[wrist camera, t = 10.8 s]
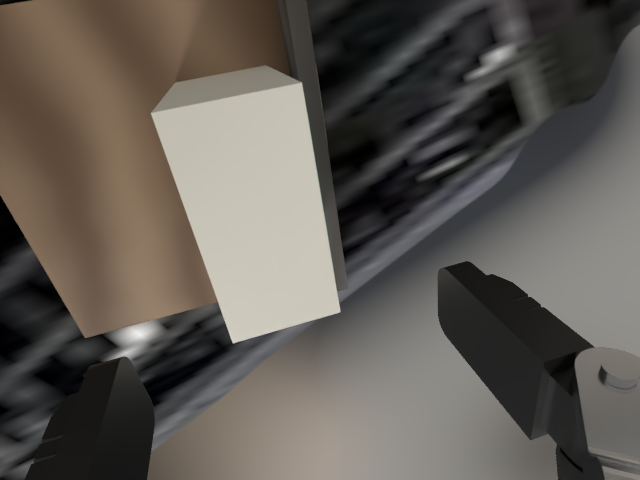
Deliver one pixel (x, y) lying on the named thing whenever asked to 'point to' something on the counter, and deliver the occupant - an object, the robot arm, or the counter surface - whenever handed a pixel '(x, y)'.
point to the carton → (251, 196)
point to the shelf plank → (129, 140)
